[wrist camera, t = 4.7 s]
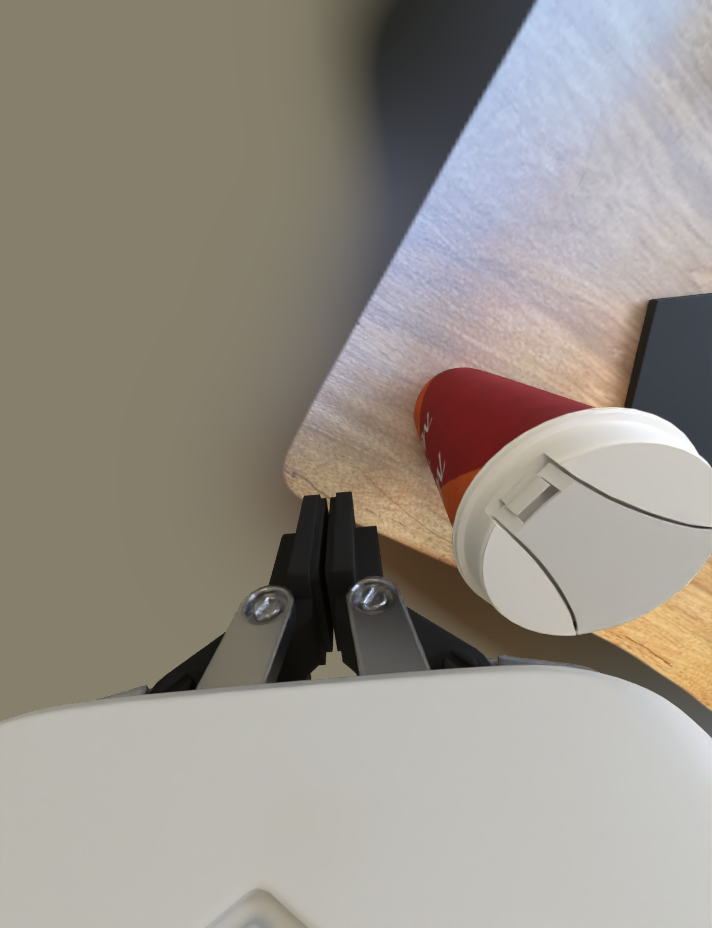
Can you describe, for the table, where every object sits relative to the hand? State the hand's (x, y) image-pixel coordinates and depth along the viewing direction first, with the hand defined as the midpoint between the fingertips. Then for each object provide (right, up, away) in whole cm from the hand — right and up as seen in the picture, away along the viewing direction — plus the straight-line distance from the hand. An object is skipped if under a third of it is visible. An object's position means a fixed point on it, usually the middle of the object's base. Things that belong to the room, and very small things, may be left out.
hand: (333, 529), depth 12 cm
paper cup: (+7, +6, +10) cm, 14 cm away
